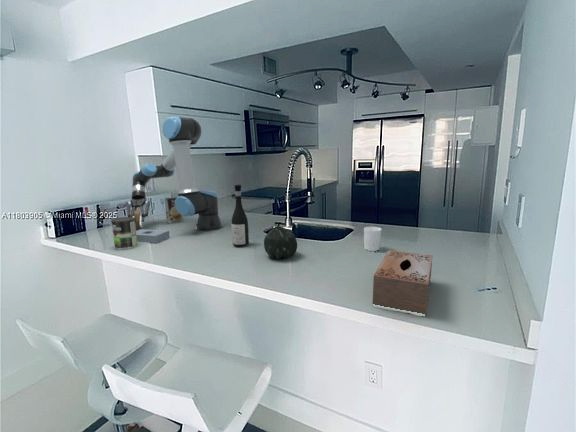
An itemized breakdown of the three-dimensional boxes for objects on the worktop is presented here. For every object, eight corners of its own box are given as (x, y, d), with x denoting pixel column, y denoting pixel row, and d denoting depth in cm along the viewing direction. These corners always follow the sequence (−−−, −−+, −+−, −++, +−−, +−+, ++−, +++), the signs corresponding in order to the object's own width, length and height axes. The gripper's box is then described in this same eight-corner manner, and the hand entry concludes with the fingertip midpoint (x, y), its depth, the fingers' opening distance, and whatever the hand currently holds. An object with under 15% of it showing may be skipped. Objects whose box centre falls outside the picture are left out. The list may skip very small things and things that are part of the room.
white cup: (365, 246, 148) (366, 225, 146) (382, 248, 144) (383, 227, 142) (360, 250, 142) (361, 229, 140) (377, 253, 138) (379, 231, 136)
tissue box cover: (425, 318, 85) (428, 284, 83) (372, 307, 91) (373, 275, 89) (430, 282, 107) (432, 255, 105) (387, 276, 114) (388, 250, 112)
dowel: (143, 230, 181) (140, 210, 178) (139, 231, 178) (136, 211, 175) (138, 230, 182) (136, 210, 179) (134, 231, 179) (132, 211, 176)
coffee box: (169, 223, 203) (167, 199, 200) (166, 221, 208) (164, 198, 205) (183, 221, 209) (181, 197, 206) (180, 219, 214) (177, 196, 211)
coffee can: (123, 250, 148) (119, 222, 145) (110, 248, 152) (106, 220, 150) (142, 244, 157) (139, 217, 154) (129, 242, 161) (125, 216, 158)
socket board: (169, 237, 169) (169, 230, 168) (156, 243, 159) (156, 236, 158) (141, 236, 173) (140, 229, 172) (127, 241, 163) (126, 234, 162)
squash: (295, 237, 145) (274, 216, 139) (308, 247, 132) (286, 224, 126) (274, 259, 144) (252, 239, 138) (285, 271, 130) (262, 249, 124)
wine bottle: (244, 248, 148) (241, 186, 142) (229, 246, 151) (226, 185, 145) (251, 243, 156) (249, 184, 150) (237, 242, 158) (234, 183, 152)
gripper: (154, 196, 193) (153, 228, 181) (125, 198, 188) (123, 231, 176) (152, 189, 187) (151, 221, 174) (122, 190, 182) (119, 224, 170)
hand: (137, 226), depth 175 cm, fingers closed on dowel, 3 cm apart
